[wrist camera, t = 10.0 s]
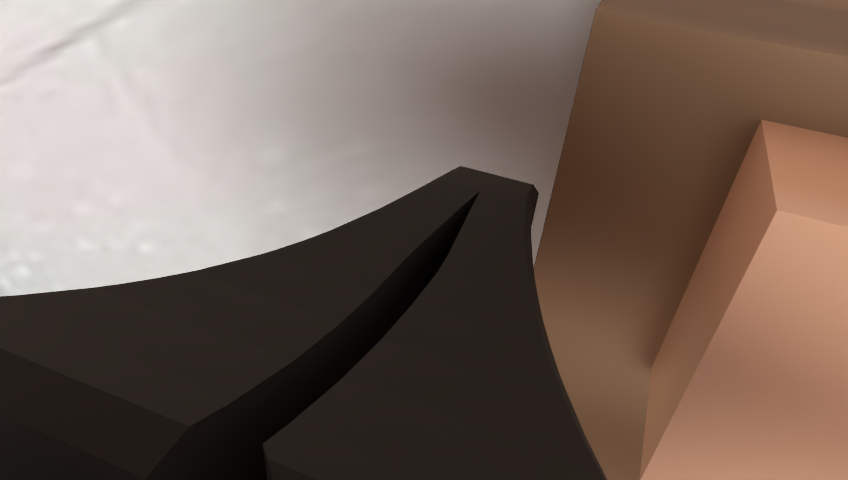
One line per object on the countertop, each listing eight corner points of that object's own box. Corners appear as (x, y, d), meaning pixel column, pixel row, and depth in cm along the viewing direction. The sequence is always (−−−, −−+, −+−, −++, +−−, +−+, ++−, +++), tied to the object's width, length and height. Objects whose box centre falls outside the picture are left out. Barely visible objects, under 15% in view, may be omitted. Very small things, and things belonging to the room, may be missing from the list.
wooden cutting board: (871, 625, 19) (904, 786, 15) (492, 479, 21) (456, 590, 18) (1500, 98, 9) (1948, 256, 5) (626, -42, 11) (595, 10, 8)
